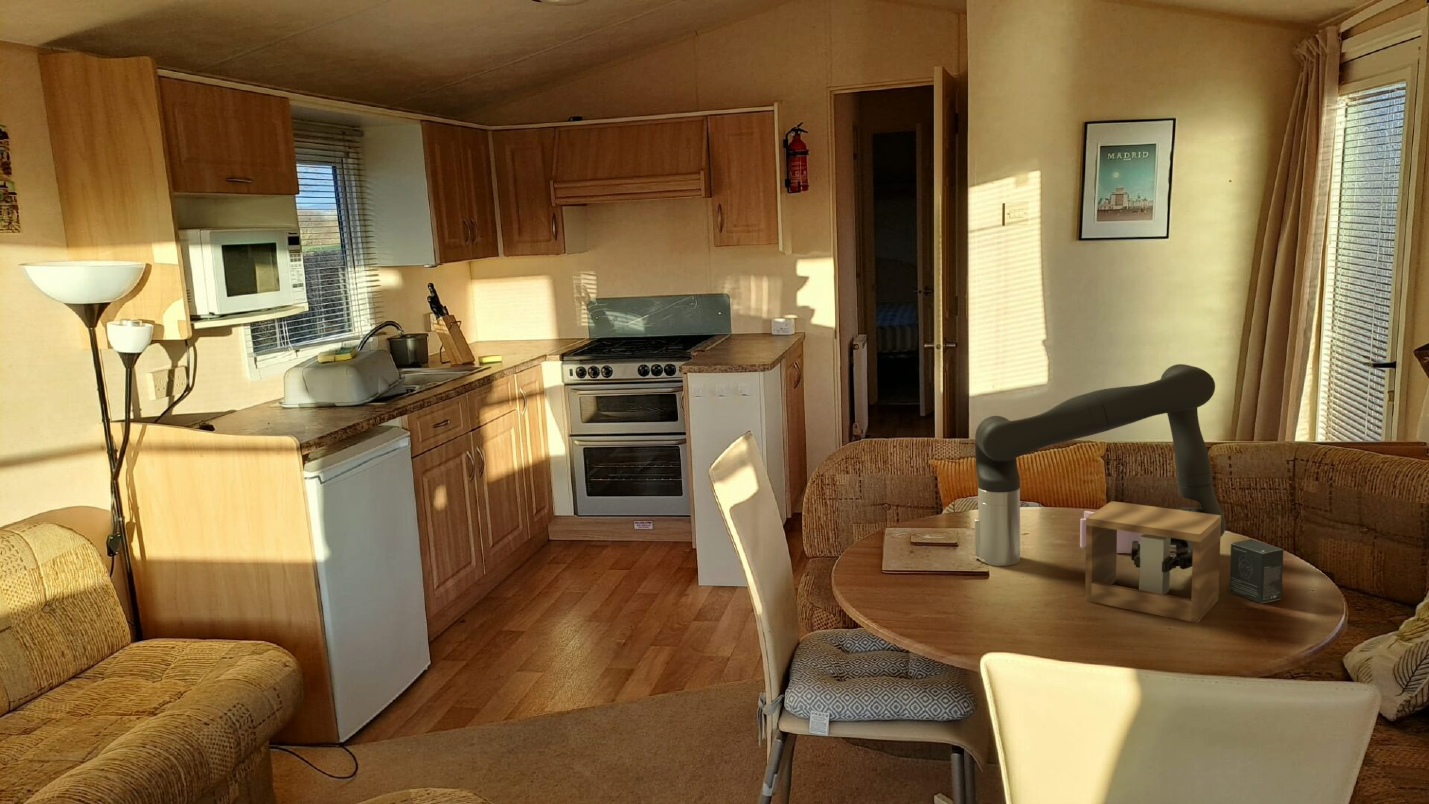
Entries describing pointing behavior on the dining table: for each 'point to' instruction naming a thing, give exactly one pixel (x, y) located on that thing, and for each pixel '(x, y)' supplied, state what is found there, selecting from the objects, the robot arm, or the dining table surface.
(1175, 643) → the dining table surface
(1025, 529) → the dining table surface
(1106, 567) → the shelf
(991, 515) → the robot arm
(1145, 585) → the block
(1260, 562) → the box
